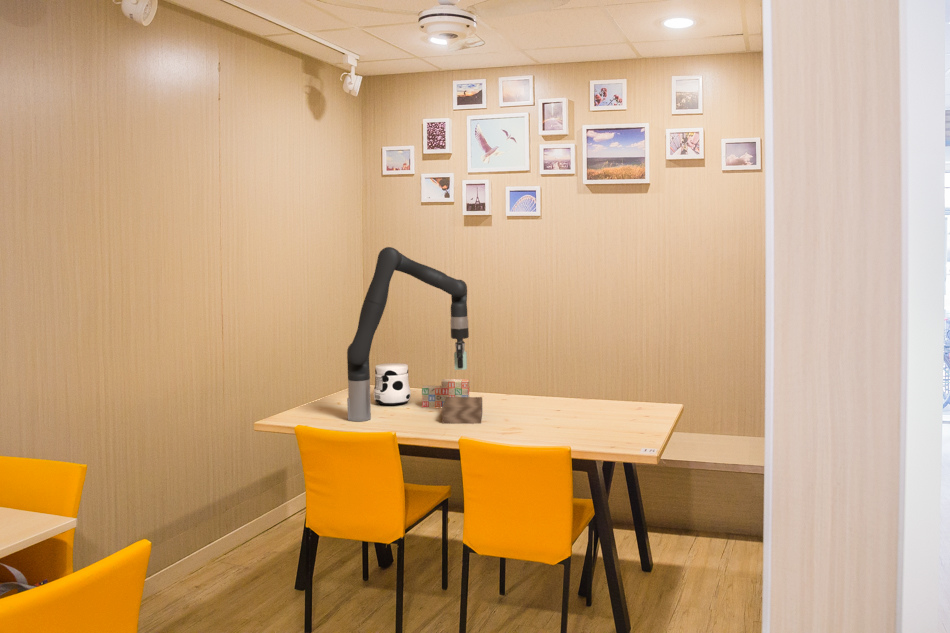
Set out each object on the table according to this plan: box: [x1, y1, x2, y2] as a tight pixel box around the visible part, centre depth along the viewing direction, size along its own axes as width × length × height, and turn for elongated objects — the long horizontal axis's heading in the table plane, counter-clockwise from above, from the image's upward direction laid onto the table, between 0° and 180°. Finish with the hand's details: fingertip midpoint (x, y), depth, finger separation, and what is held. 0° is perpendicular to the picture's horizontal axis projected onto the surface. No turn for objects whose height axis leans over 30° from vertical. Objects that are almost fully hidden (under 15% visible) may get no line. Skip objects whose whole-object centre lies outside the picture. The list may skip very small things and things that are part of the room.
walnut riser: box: [441, 396, 483, 424], centre depth 323 cm, size 16×20×7 cm
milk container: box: [373, 362, 412, 406], centre depth 354 cm, size 17×17×18 cm
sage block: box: [453, 351, 468, 371], centre depth 321 cm, size 5×5×7 cm
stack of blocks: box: [421, 378, 470, 407], centre depth 346 cm, size 21×6×12 cm, turn 86°
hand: (460, 366), depth 321 cm, fingers closed on sage block, 5 cm apart
